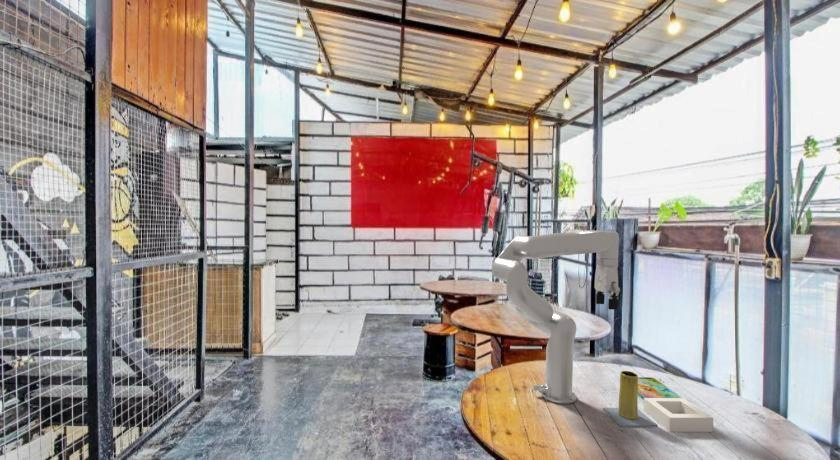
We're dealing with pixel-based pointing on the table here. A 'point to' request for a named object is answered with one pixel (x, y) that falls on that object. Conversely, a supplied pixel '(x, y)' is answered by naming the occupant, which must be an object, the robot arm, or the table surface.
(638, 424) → the mat
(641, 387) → the puzzle game
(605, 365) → the table surface
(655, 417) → the well board
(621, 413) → the vase
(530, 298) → the robot arm
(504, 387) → the table surface
